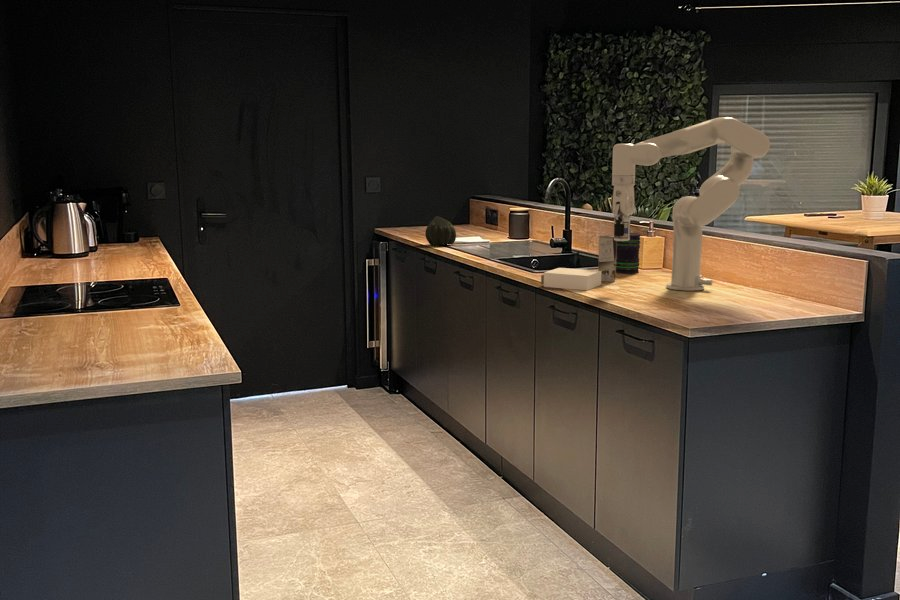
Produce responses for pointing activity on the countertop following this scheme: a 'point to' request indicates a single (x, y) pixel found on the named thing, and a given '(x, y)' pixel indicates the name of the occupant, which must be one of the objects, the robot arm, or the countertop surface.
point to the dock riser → (571, 278)
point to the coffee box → (607, 258)
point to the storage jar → (628, 255)
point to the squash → (440, 232)
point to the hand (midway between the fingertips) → (621, 234)
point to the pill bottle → (626, 230)
